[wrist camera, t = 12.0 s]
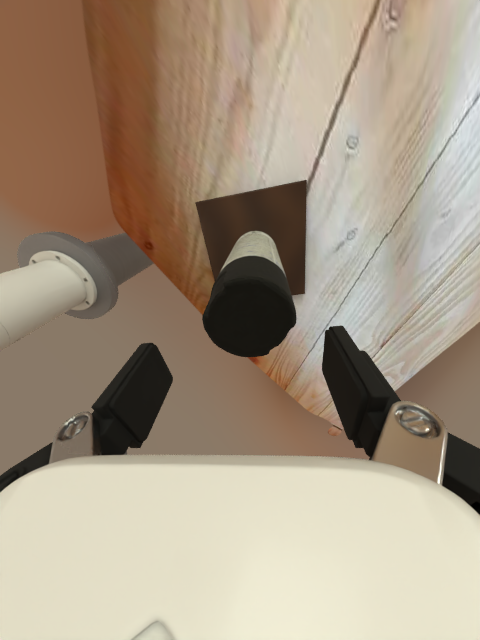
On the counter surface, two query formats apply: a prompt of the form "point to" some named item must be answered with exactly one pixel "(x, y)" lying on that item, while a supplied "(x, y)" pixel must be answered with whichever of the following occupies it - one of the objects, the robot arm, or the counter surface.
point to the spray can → (250, 299)
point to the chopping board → (259, 226)
